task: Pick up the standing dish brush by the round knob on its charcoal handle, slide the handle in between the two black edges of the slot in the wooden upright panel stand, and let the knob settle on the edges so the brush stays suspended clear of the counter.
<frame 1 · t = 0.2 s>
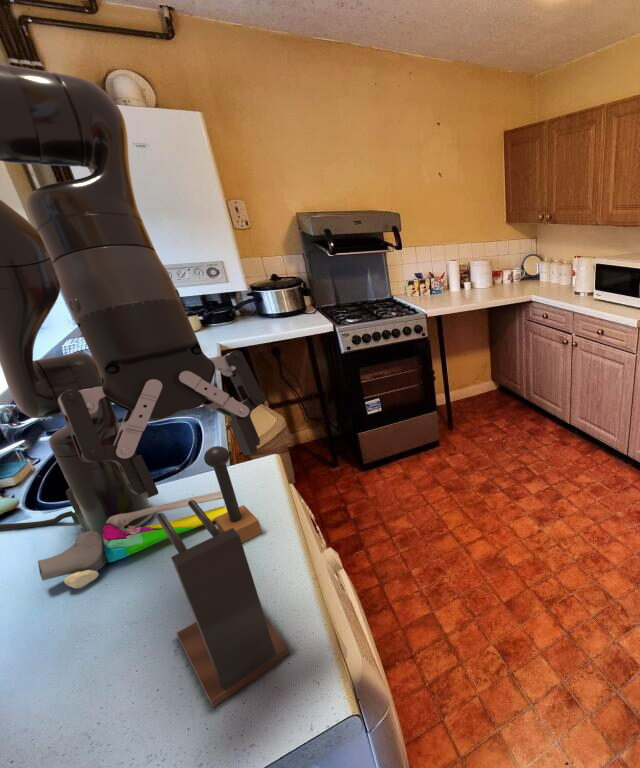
hand: (205, 473, 41), 31 cm above the countertop, tool tilted 20°, fingers open, 8 cm apart
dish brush: (240, 532, 80), on the countertop
upright panel stand: (230, 641, 59), on the countertop
knee model: (149, 550, 77), on the countertop
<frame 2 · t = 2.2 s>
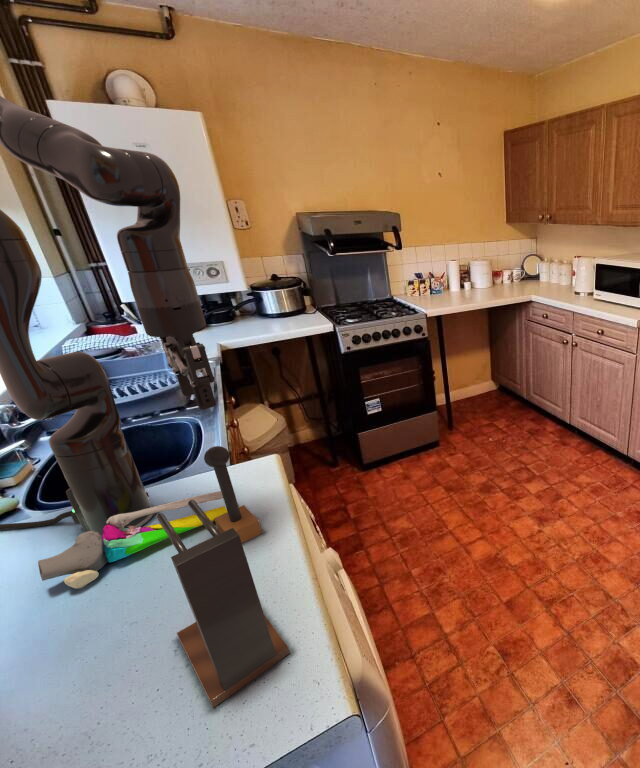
hand: (199, 400, 71), 26 cm above the countertop, tool pointing down, fingers open, 8 cm apart
nothing on the countertop moved.
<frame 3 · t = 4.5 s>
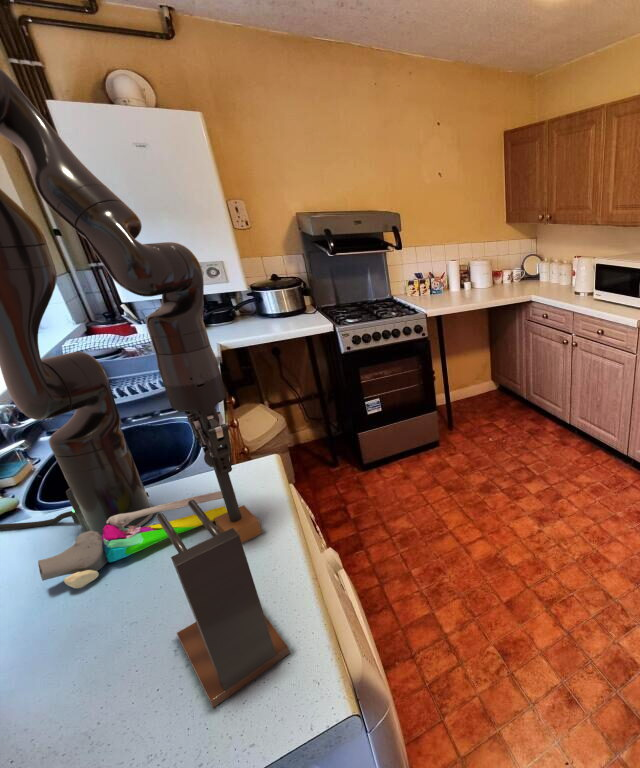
hand: (220, 468, 75), 14 cm above the countertop, tool pointing down, fingers closed on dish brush, 3 cm apart
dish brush: (240, 532, 80), on the countertop, touching gripper
everything else where it was.
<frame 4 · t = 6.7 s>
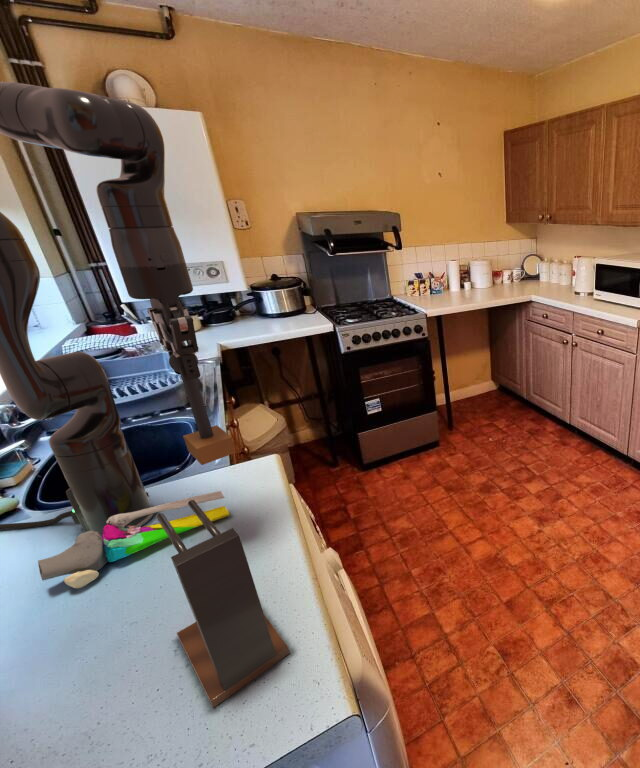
hand: (188, 375, 68), 31 cm above the countertop, tool pointing down, fingers closed on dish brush, 3 cm apart
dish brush: (212, 452, 73), point 18 cm above the countertop, touching gripper
everything else where it was.
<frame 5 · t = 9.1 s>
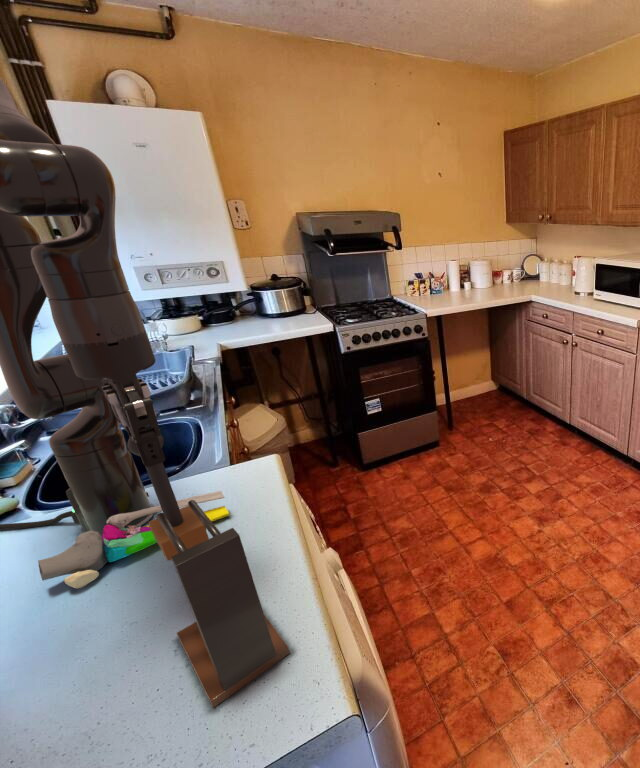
hand: (151, 458, 58), 24 cm above the countertop, tool pointing down, fingers closed on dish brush, 3 cm apart
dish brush: (182, 540, 63), point 11 cm above the countertop, touching gripper
everything else where it was.
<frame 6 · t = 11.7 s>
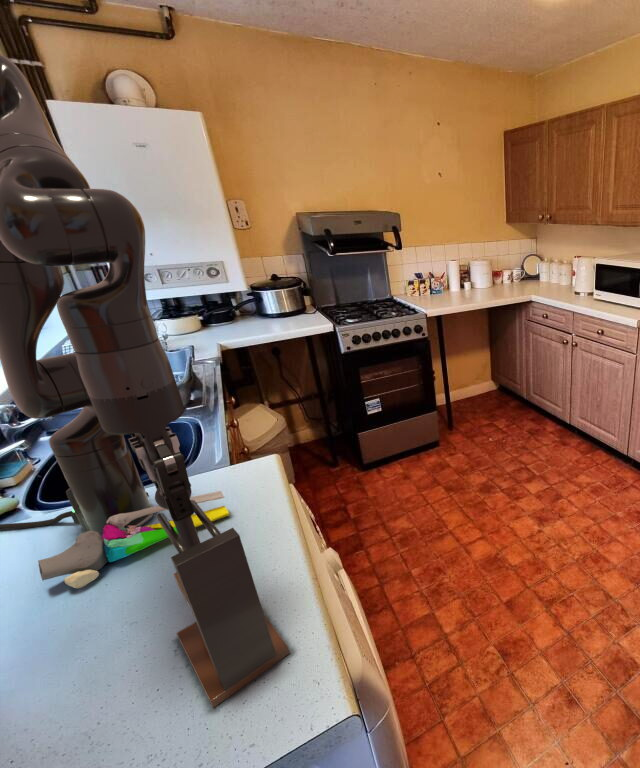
hand: (178, 509, 55), 20 cm above the countertop, tool pointing down, fingers closed on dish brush, 3 cm apart
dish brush: (209, 591, 60), point 6 cm above the countertop, touching gripper
everything else where it was.
when the fingers open (18 cm above the countertop, at t = 13.7 s): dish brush stays where it is, resting on upright panel stand.
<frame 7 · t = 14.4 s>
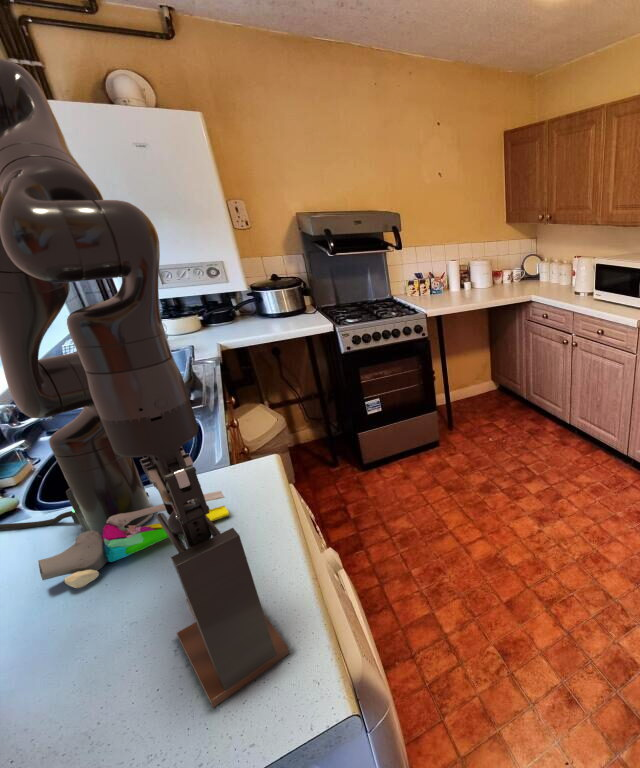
hand: (189, 525, 52), 19 cm above the countertop, tool pointing down, fingers open, 8 cm apart
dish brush: (222, 617, 58), point 4 cm above the countertop, touching upright panel stand
everything else where it was.
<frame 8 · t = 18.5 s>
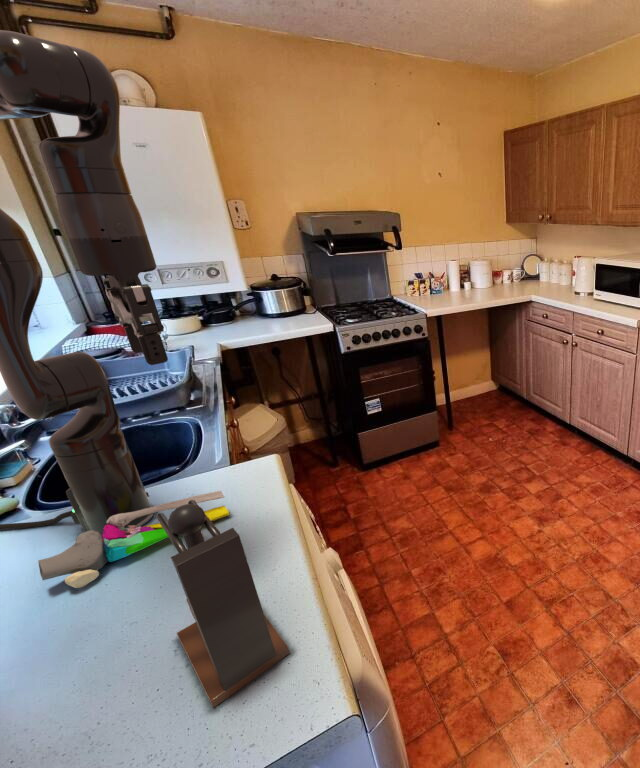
hand: (150, 357, 61), 36 cm above the countertop, tool pointing down, fingers open, 8 cm apart
nothing on the countertop moved.
at the end: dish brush 0.1 cm off-centre on the upright panel stand, point 4.4 cm above the upright panel stand's base; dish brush touching upright panel stand; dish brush tilted 0° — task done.
